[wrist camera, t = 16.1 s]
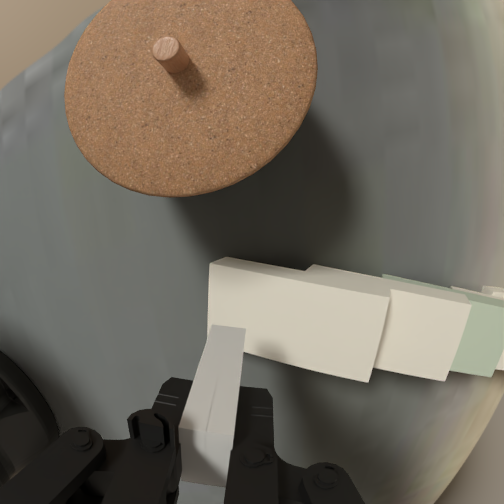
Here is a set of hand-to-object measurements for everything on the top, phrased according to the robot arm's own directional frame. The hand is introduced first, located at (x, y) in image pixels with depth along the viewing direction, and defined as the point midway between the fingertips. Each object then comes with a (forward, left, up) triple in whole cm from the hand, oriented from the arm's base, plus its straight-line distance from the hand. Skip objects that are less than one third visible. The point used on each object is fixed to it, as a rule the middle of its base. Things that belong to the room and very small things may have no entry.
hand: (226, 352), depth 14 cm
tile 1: (-1, 0, -6) cm, 6 cm away
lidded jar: (-3, +12, -7) cm, 14 cm away
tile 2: (+4, 0, -6) cm, 7 cm away
